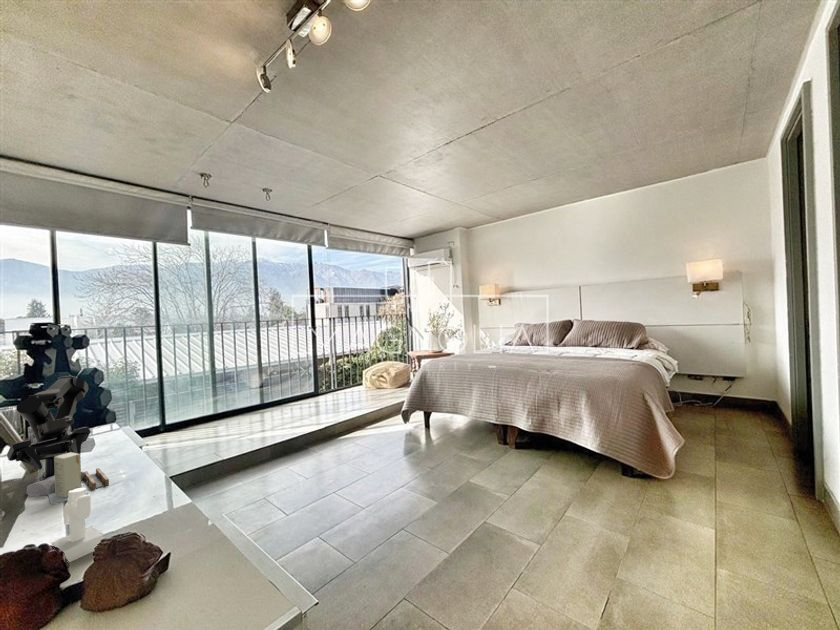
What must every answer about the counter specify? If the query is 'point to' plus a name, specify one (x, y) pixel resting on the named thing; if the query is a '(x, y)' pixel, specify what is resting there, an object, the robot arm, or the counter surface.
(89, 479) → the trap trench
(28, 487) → the stone block
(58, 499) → the pad
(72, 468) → the skincare box
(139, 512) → the counter surface
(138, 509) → the counter surface
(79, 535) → the figurine
